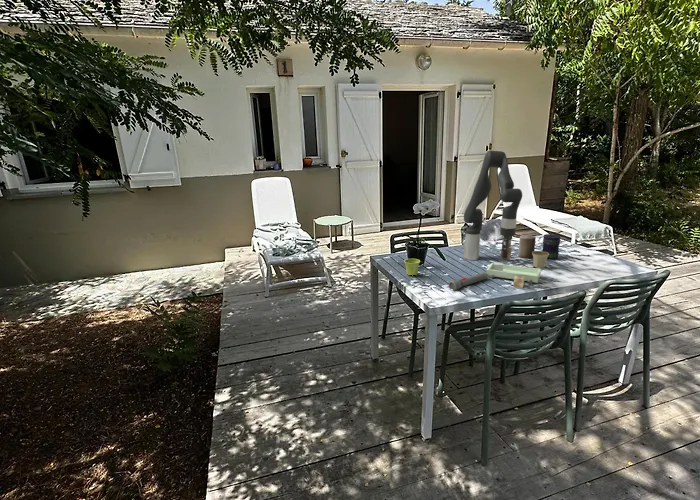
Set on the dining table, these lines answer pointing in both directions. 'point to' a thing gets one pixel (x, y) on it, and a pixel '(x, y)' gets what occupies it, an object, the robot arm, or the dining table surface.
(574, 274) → the dining table surface
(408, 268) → the plant pot
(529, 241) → the pillar candle
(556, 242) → the storage jar
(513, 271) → the cart
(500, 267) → the grey part
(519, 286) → the beech part
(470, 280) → the flashlight
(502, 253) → the walnut part
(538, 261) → the flower pot
